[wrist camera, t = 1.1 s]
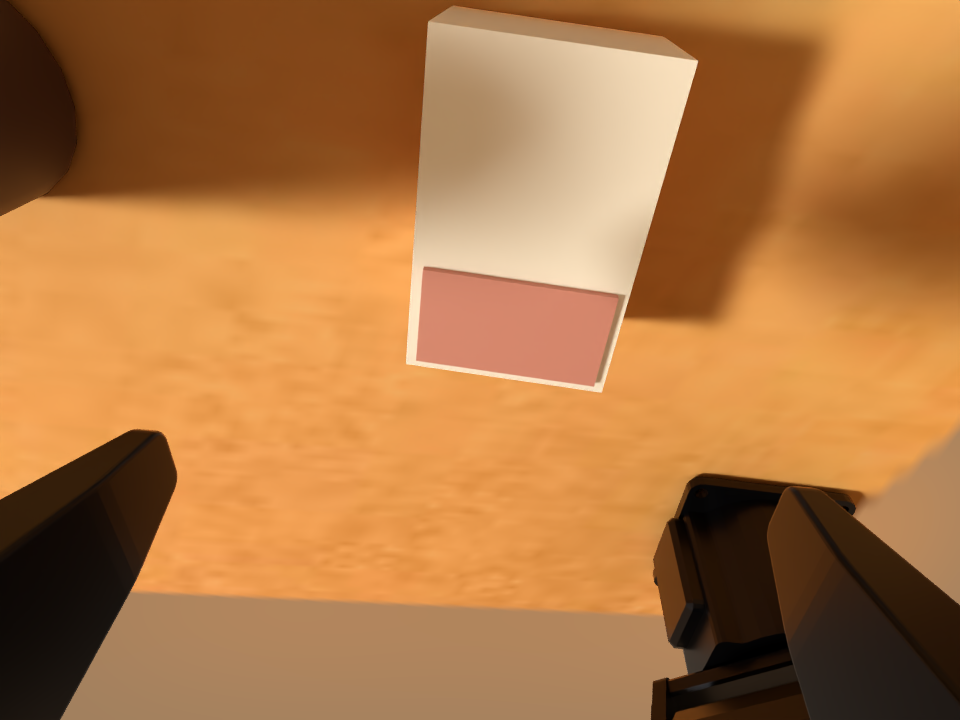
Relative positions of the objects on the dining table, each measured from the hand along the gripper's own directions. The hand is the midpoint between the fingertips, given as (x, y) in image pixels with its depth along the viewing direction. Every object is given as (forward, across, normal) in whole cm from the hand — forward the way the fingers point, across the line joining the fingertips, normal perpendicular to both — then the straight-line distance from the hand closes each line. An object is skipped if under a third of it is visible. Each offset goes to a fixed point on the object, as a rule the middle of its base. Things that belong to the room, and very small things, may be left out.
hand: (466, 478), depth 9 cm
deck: (+12, -1, -1) cm, 12 cm away
